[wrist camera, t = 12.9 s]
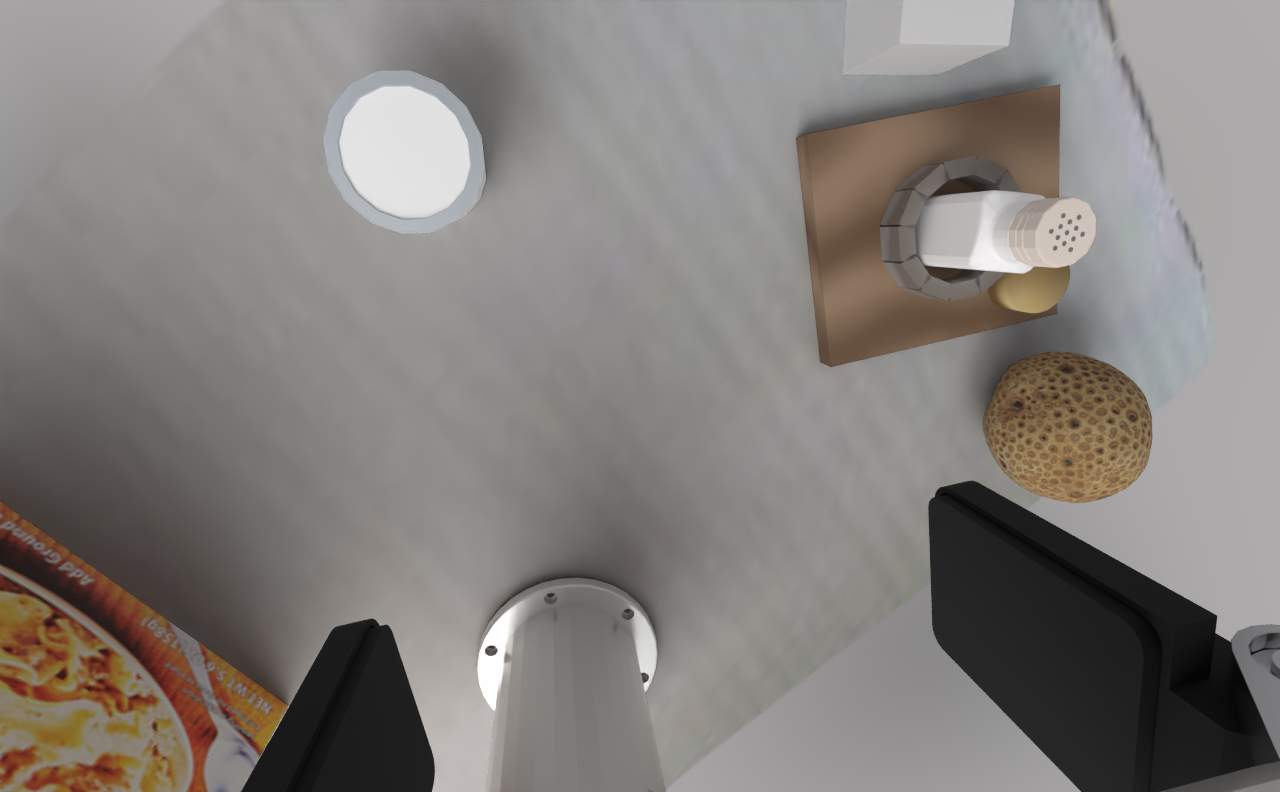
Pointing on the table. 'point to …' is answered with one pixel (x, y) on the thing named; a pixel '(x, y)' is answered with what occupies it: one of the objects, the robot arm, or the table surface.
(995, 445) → the natural sponge
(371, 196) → the shot glass
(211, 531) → the table surface
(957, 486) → the robot arm
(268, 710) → the pasta box
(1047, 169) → the carrier board
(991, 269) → the salt shaker
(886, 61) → the white cube
